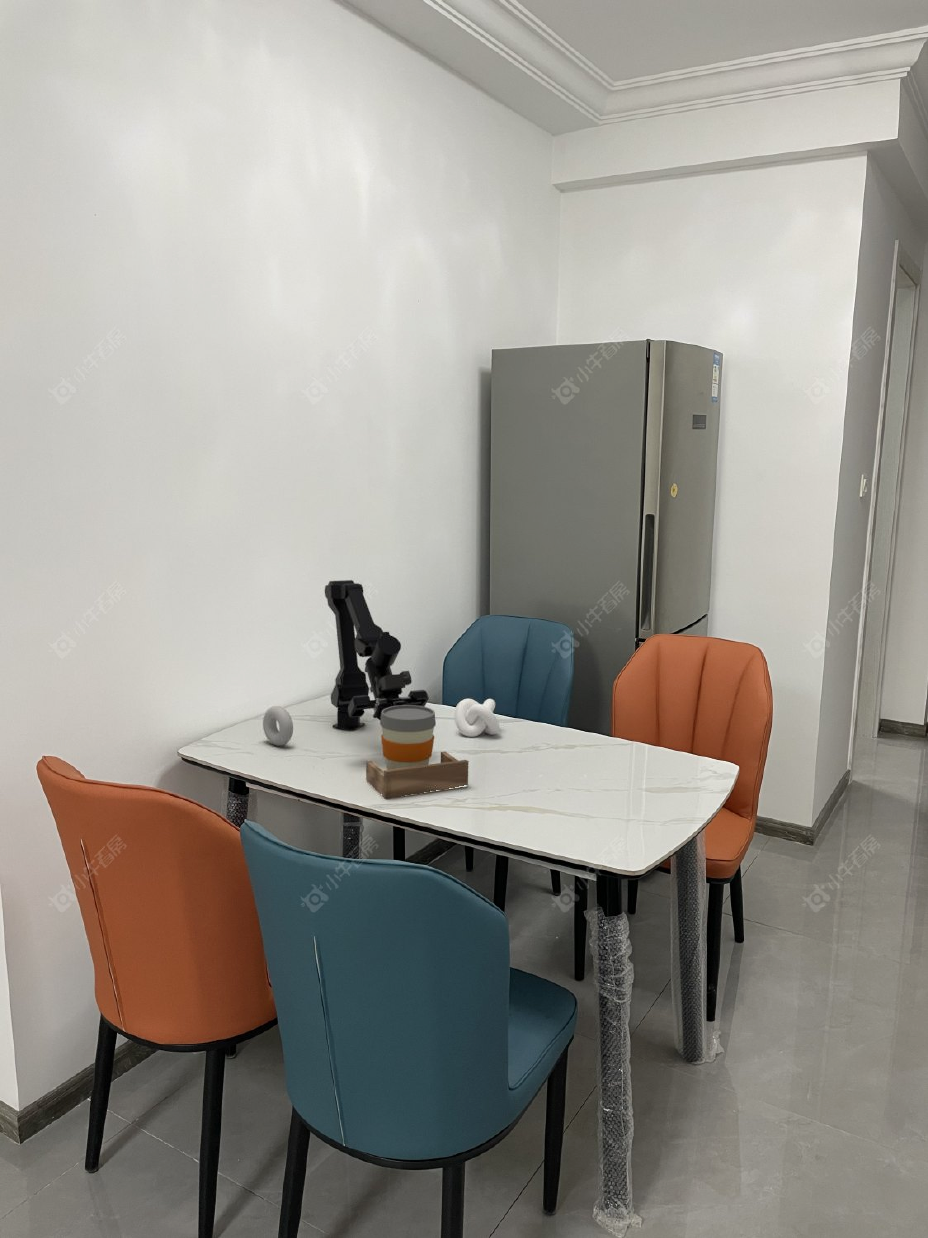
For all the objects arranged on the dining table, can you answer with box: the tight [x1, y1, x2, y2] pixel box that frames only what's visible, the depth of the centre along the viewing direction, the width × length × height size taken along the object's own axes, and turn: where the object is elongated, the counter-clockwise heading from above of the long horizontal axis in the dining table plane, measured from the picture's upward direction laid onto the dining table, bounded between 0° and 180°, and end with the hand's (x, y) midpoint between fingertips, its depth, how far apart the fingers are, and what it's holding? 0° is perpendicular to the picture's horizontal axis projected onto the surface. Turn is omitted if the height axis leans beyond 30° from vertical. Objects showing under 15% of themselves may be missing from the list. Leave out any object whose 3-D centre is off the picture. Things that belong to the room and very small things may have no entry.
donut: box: [262, 705, 294, 747], centre depth 233 cm, size 10×4×10 cm, turn 49°
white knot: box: [454, 698, 500, 738], centre depth 247 cm, size 11×12×9 cm
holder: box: [365, 751, 469, 800], centre depth 209 cm, size 12×19×6 cm, turn 115°
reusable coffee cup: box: [379, 705, 436, 770], centre depth 213 cm, size 13×13×15 cm
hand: (397, 734), depth 219 cm, fingers closed, pressing on reusable coffee cup
